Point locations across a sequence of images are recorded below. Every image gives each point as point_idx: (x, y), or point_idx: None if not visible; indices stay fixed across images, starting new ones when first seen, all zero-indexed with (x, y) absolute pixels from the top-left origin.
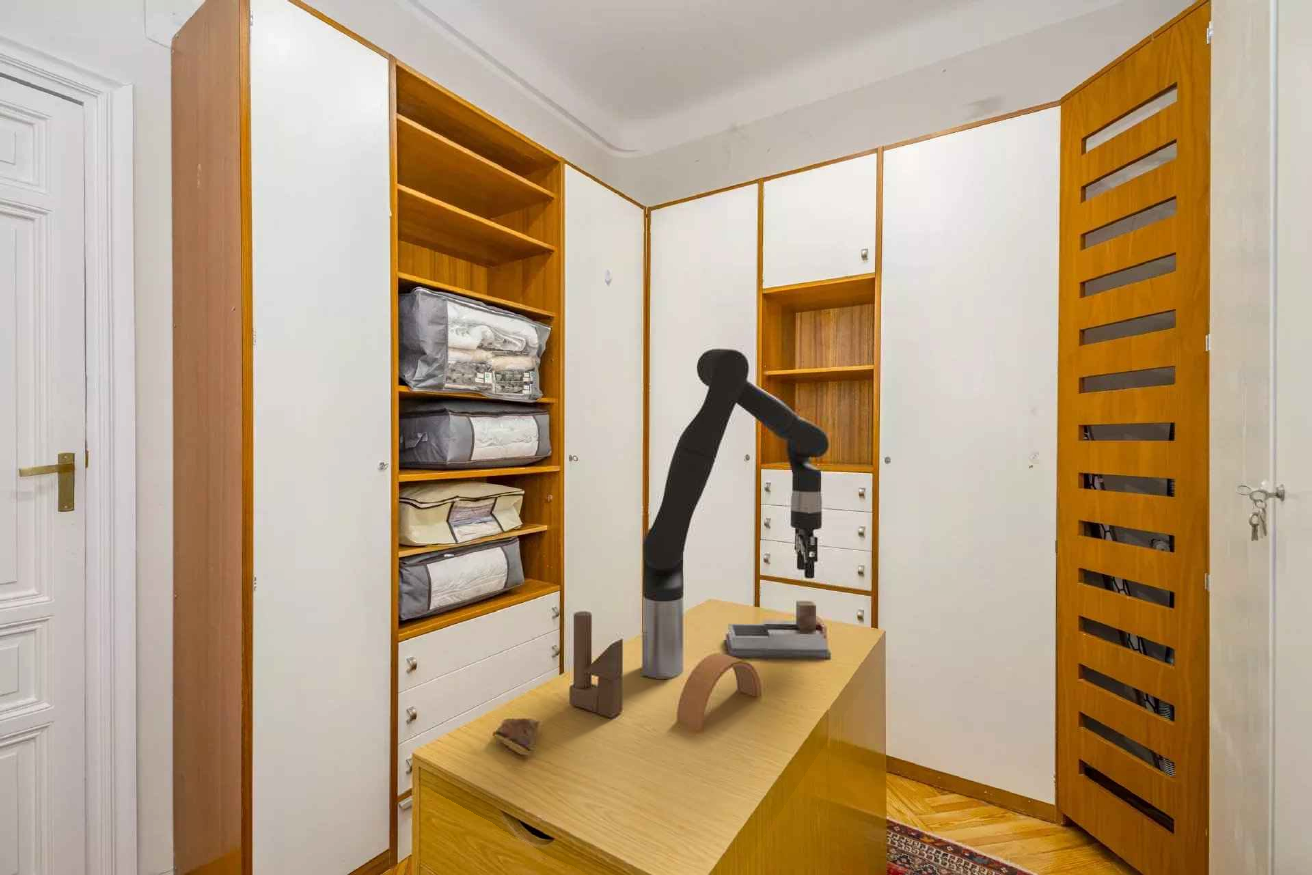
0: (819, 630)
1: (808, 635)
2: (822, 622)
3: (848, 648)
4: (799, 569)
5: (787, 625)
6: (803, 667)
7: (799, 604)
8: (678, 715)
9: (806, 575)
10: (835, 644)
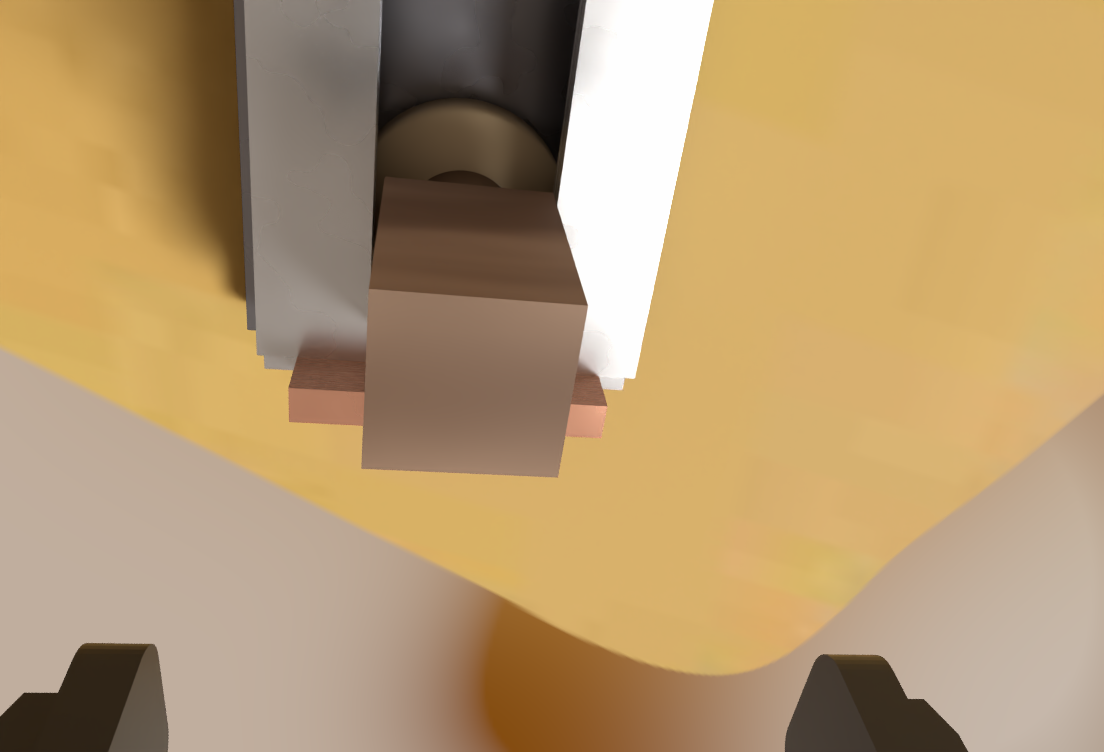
0: None
1: (255, 219)
2: None
3: (462, 475)
4: (813, 670)
5: (570, 99)
6: (40, 34)
7: (410, 297)
8: None
9: (74, 693)
10: None
